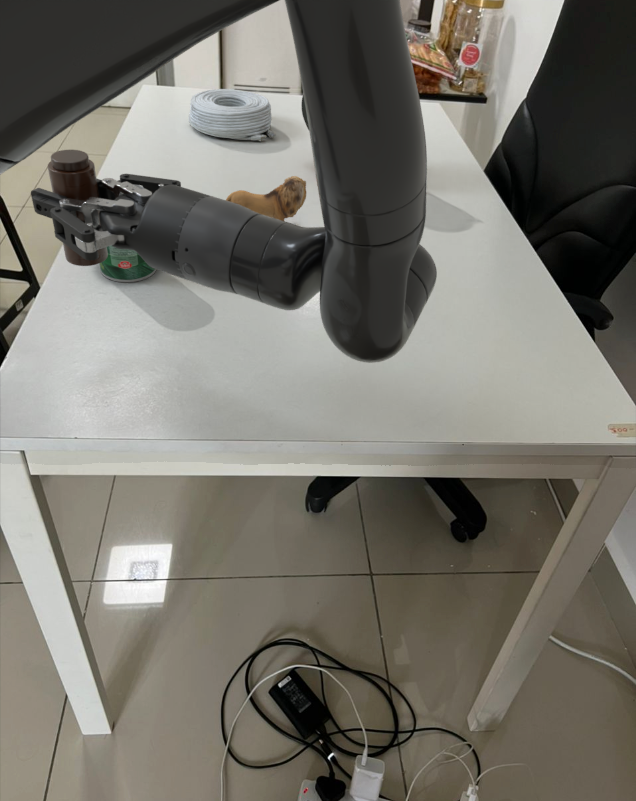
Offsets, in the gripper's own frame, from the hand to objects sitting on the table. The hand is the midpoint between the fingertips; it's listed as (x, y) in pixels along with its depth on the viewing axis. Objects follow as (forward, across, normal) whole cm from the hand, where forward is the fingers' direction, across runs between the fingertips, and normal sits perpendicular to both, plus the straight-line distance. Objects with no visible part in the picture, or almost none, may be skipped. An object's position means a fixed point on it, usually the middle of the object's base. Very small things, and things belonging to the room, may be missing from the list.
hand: (53, 191), depth 61 cm
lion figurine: (0, -41, +22) cm, 46 cm away
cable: (+30, -78, +21) cm, 86 cm away
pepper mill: (-3, 0, +6) cm, 7 cm away
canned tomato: (+10, -20, +22) cm, 31 cm away
